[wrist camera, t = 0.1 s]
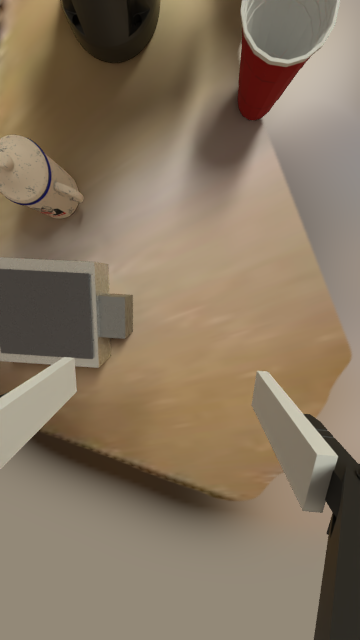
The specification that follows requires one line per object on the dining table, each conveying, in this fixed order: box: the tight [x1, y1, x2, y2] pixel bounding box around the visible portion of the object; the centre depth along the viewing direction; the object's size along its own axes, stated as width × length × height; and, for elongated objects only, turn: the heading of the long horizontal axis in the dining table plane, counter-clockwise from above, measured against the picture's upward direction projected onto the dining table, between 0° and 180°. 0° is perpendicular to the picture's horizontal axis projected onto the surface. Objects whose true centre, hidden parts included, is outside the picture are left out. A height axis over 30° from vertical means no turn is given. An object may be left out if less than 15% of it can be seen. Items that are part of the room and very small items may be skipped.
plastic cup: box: [238, 0, 340, 120], centre depth 27 cm, size 11×11×12 cm
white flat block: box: [0, 257, 133, 368], centre depth 39 cm, size 20×25×7 cm
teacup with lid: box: [0, 135, 83, 219], centre depth 32 cm, size 12×9×12 cm
